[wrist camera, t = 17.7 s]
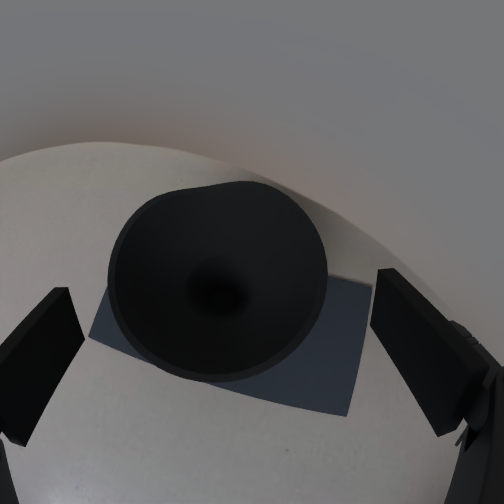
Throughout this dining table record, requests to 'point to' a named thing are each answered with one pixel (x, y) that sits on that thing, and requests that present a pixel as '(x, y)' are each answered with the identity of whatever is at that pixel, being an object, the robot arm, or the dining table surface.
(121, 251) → the pen holder
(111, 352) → the dining table surface
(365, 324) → the edge mat
